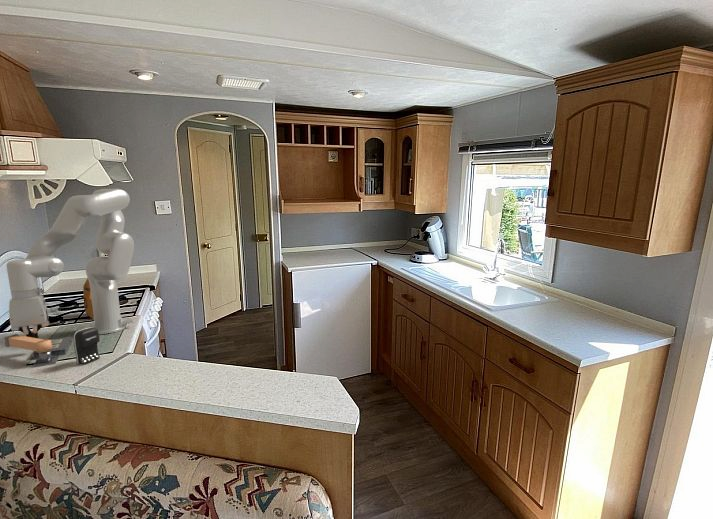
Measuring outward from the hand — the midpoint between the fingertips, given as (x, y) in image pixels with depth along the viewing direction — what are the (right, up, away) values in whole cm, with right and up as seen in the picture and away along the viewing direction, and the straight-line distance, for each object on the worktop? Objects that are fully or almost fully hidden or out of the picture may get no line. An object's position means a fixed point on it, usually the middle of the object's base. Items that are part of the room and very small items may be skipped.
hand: (33, 343), depth 138 cm
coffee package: (-8, +3, +47) cm, 48 cm away
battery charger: (+26, -5, -8) cm, 28 cm away
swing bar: (+4, 0, -6) cm, 7 cm away
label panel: (+5, -3, +3) cm, 7 cm away
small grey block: (+11, -5, -8) cm, 15 cm away
